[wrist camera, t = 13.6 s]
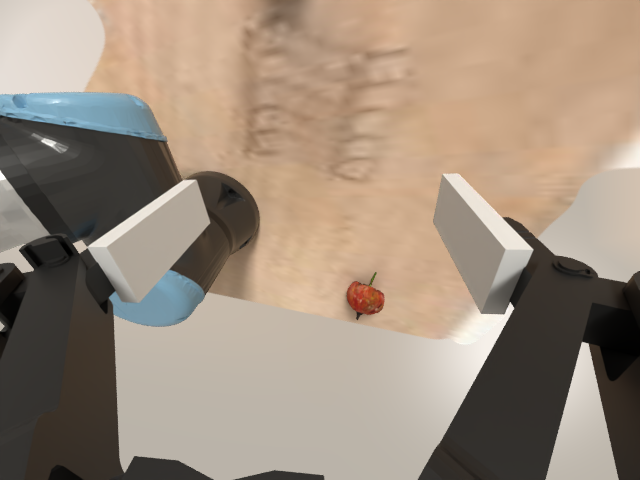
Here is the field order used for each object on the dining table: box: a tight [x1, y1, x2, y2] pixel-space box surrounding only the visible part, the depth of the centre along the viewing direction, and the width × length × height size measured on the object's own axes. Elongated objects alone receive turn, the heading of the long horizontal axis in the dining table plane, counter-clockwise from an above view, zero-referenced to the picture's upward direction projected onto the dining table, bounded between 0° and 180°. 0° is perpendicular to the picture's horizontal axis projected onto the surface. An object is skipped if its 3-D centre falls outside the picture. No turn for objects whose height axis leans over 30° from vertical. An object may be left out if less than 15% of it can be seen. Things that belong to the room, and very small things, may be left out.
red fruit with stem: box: [347, 272, 384, 320], centre depth 53 cm, size 7×7×10 cm
